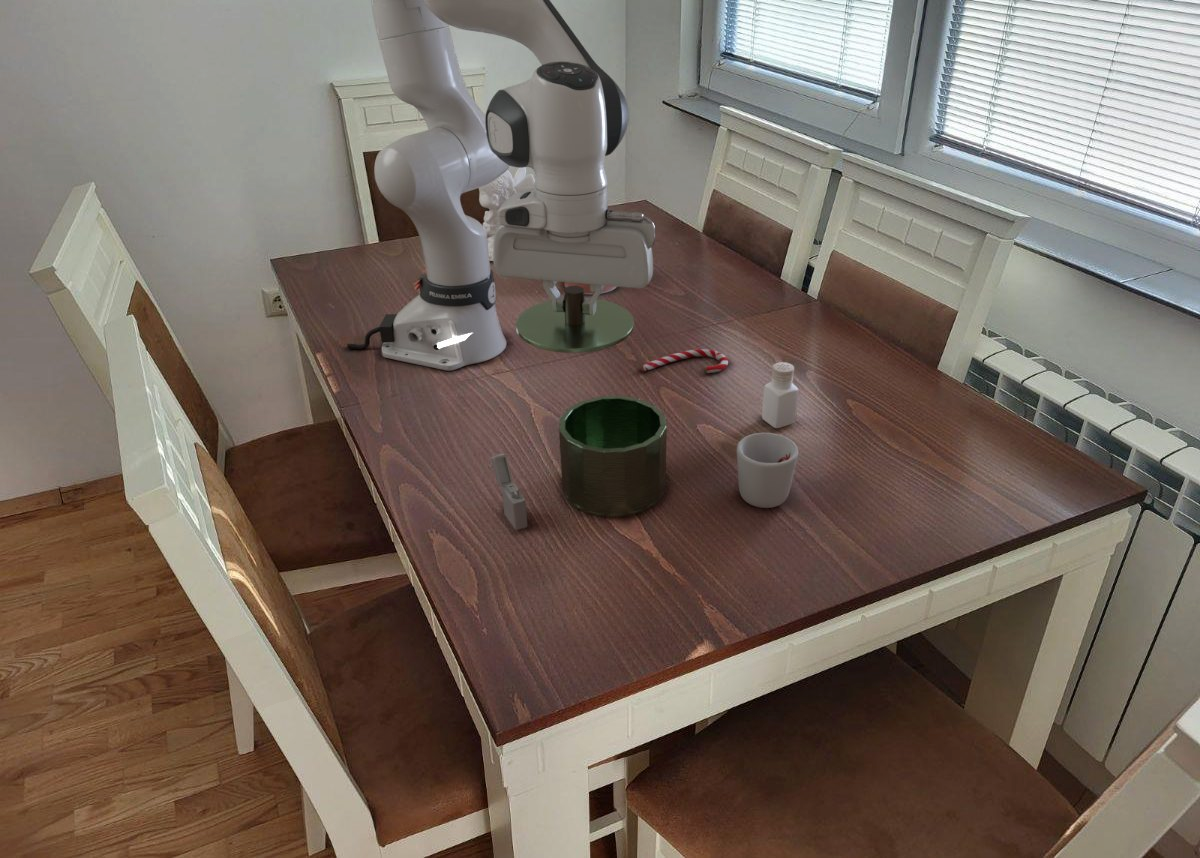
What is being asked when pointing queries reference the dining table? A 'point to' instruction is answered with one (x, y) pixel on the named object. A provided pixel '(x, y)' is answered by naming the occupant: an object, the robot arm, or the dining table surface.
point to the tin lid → (574, 325)
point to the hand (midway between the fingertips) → (574, 311)
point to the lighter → (510, 493)
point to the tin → (613, 455)
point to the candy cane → (688, 355)
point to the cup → (765, 468)
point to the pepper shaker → (780, 397)
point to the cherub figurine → (501, 198)
